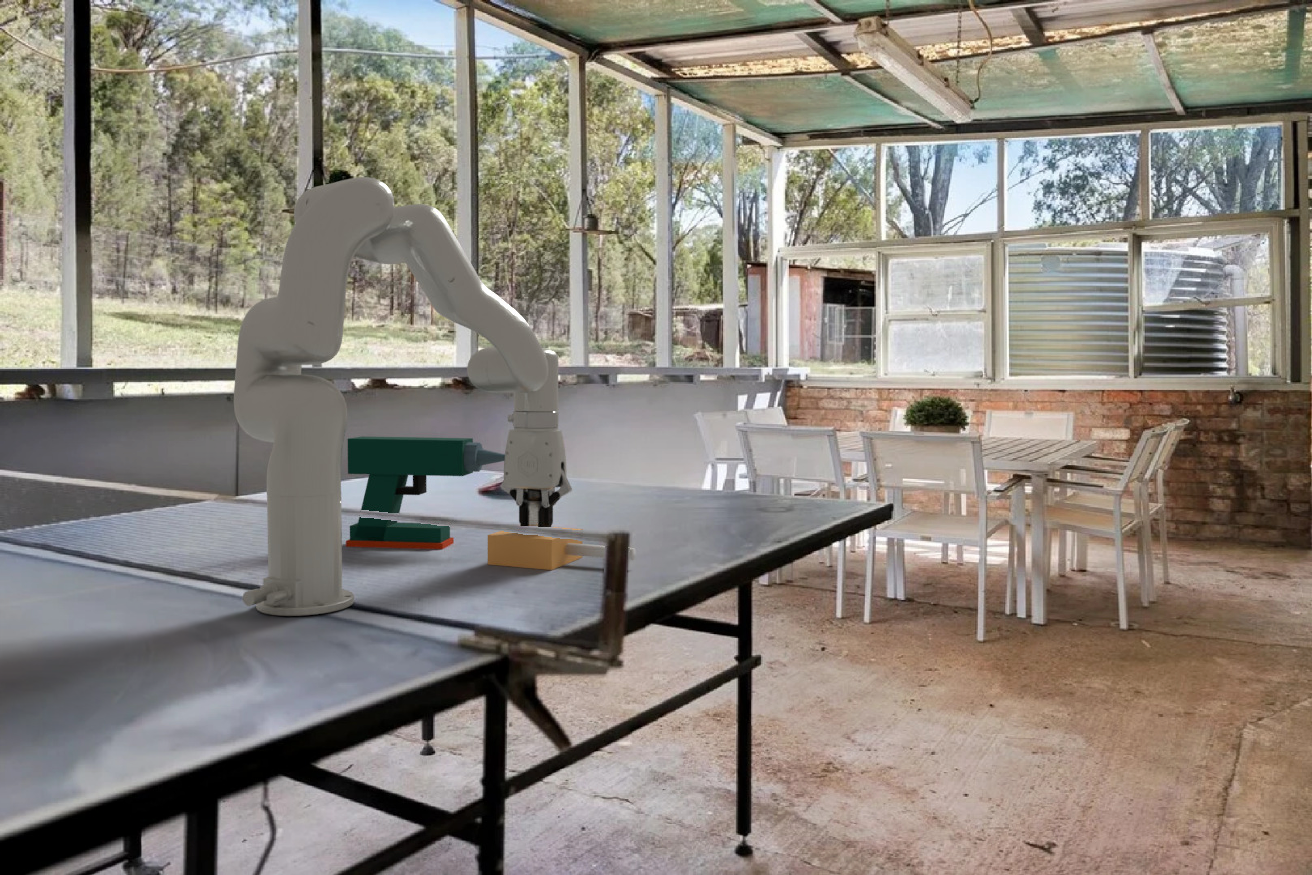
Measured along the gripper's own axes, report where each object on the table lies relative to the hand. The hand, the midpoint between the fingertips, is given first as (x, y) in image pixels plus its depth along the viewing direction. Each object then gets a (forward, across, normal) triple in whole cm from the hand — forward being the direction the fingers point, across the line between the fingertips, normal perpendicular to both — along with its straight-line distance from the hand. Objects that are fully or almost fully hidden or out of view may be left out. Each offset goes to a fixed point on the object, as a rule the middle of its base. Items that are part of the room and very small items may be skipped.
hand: (535, 527), depth 165 cm
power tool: (+6, -24, +6) cm, 25 cm away
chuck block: (+6, +6, 0) cm, 8 cm away
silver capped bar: (+3, 0, 0) cm, 3 cm away
